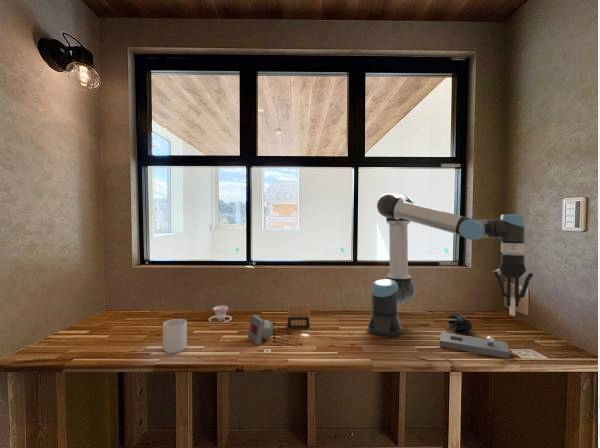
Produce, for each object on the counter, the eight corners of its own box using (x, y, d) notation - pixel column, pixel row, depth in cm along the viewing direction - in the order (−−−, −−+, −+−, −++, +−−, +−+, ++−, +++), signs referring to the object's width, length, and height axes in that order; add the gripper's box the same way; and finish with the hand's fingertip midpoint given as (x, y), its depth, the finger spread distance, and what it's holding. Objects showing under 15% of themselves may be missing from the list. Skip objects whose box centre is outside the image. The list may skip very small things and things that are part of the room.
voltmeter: (240, 342, 131) (240, 319, 131) (255, 333, 142) (255, 312, 141) (297, 354, 120) (297, 328, 120) (308, 343, 131) (308, 320, 131)
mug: (184, 354, 120) (184, 325, 120) (160, 355, 118) (160, 326, 118) (190, 342, 132) (190, 315, 132) (168, 343, 130) (168, 316, 130)
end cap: (472, 334, 141) (472, 319, 141) (455, 333, 142) (455, 319, 142) (463, 326, 151) (463, 313, 151) (448, 326, 152) (448, 312, 152)
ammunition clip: (287, 327, 149) (287, 303, 149) (287, 326, 151) (287, 302, 151) (309, 328, 149) (309, 303, 149) (309, 326, 151) (309, 302, 151)
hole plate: (439, 346, 128) (439, 340, 128) (441, 337, 137) (441, 331, 137) (509, 358, 116) (509, 352, 116) (506, 348, 126) (506, 342, 126)
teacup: (228, 323, 155) (228, 311, 155) (205, 323, 156) (205, 311, 156) (234, 316, 167) (234, 304, 167) (212, 315, 168) (212, 304, 168)
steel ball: (485, 344, 123) (486, 337, 123) (485, 342, 126) (485, 334, 126) (494, 346, 122) (494, 338, 122) (494, 343, 125) (494, 336, 125)
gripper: (493, 254, 120) (493, 314, 120) (535, 255, 114) (535, 319, 114) (491, 252, 127) (491, 310, 127) (531, 253, 120) (531, 314, 121)
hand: (512, 314), depth 120 cm, fingers closed
